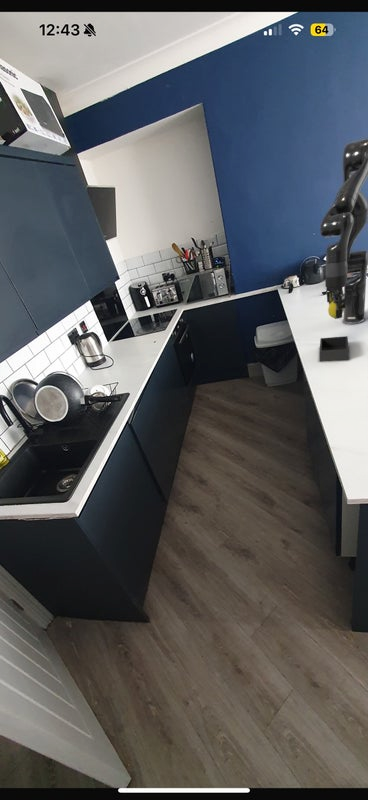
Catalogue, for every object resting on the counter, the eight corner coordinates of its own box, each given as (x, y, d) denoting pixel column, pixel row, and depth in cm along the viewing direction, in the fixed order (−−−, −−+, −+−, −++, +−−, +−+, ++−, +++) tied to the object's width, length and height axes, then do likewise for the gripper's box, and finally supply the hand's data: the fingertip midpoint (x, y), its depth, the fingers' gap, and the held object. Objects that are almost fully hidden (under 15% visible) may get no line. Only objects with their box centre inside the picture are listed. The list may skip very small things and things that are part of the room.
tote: (320, 347, 143) (320, 338, 140) (347, 346, 138) (347, 336, 136) (319, 361, 133) (319, 351, 131) (348, 360, 128) (348, 349, 126)
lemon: (344, 320, 124) (345, 300, 120) (329, 322, 126) (329, 303, 122) (341, 315, 129) (342, 296, 124) (327, 317, 130) (327, 298, 126)
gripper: (355, 274, 111) (353, 319, 120) (338, 267, 123) (338, 308, 132) (333, 279, 112) (333, 323, 121) (319, 272, 124) (320, 312, 133)
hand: (335, 315), depth 126 cm, fingers closed on lemon, 5 cm apart
